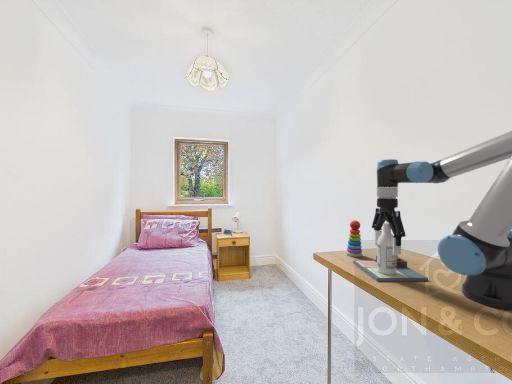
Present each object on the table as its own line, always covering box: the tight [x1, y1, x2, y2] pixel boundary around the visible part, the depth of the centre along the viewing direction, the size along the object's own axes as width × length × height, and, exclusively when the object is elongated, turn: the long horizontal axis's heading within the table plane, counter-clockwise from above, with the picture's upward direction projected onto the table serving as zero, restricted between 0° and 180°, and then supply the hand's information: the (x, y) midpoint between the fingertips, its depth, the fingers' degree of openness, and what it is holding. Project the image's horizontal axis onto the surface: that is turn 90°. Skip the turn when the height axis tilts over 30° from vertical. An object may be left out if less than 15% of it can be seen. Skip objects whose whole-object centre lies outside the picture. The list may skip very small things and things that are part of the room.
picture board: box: [352, 255, 429, 282], centre depth 104 cm, size 22×20×4 cm
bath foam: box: [376, 222, 398, 275], centre depth 98 cm, size 7×7×20 cm
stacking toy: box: [346, 219, 363, 258], centre depth 127 cm, size 8×8×19 cm
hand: (386, 249), depth 98 cm, fingers open, 13 cm apart
